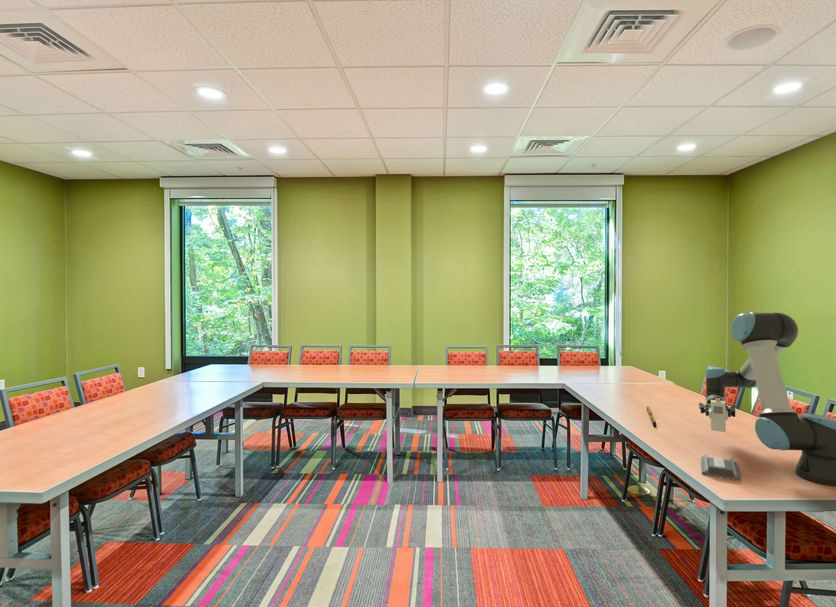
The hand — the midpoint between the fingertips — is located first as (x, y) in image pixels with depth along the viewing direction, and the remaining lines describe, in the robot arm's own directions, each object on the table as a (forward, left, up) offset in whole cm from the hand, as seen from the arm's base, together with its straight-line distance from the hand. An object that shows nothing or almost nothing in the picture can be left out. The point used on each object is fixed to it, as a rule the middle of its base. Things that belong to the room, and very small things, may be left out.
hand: (718, 415), depth 181 cm
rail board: (-2, +9, -19) cm, 21 cm away
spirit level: (+38, -50, -19) cm, 66 cm away
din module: (+1, -5, -7) cm, 9 cm away
